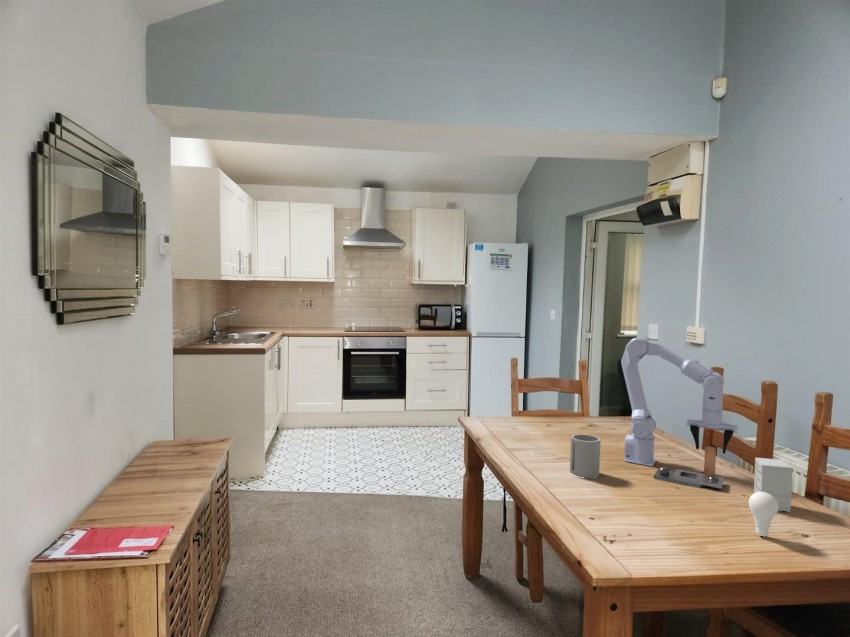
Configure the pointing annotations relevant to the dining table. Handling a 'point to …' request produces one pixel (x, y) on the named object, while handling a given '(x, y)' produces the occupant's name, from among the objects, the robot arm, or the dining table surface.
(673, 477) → the grey flat plate
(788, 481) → the supplement box
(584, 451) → the cup
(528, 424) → the dining table surface
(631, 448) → the robot arm
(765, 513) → the lightbulb
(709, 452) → the pin
